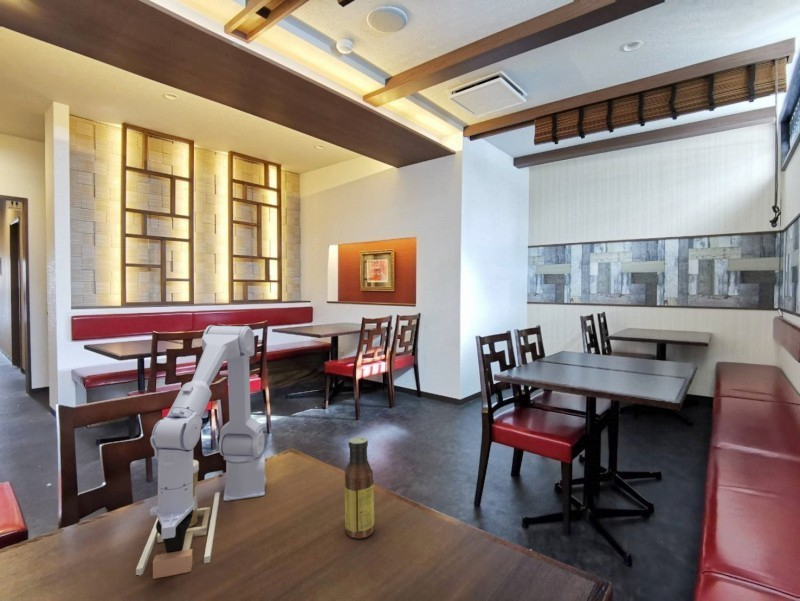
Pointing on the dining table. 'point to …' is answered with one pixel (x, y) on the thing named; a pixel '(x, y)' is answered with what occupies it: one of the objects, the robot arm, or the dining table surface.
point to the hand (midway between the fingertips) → (174, 555)
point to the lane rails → (154, 534)
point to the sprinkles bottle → (195, 492)
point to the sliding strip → (180, 559)
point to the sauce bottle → (359, 491)
